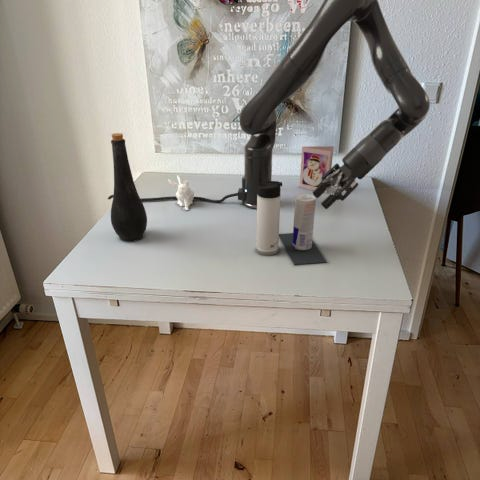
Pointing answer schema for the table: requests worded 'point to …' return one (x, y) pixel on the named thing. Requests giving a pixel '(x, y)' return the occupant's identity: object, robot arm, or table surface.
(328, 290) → the table surface
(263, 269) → the table surface
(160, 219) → the table surface
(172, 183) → the rabbit figurine
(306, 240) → the beverage can
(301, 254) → the mat
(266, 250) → the travel mug
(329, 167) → the greeting card
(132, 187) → the bottle
